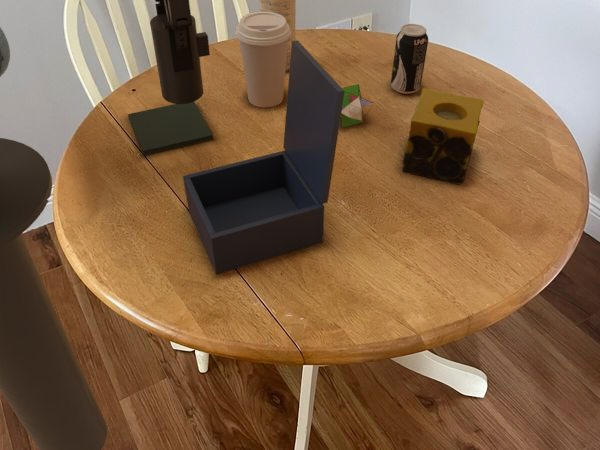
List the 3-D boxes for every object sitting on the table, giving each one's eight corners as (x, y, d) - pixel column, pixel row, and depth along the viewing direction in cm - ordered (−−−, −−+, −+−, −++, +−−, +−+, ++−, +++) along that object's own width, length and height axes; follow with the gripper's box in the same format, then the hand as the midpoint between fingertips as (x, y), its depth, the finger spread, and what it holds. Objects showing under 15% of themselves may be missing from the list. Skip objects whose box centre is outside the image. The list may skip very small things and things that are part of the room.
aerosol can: (302, 64, 119) (303, -38, 106) (279, 76, 116) (278, -27, 102) (277, 53, 123) (275, -47, 109) (254, 65, 119) (249, -37, 105)
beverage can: (392, 79, 115) (400, 20, 107) (421, 83, 114) (431, 24, 106) (387, 93, 111) (395, 33, 103) (418, 98, 110) (428, 38, 102)
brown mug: (167, 107, 83) (155, 34, 76) (158, 87, 87) (145, 15, 80) (217, 97, 85) (211, 25, 78) (206, 78, 89) (199, 7, 82)
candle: (413, 138, 101) (421, 86, 94) (472, 150, 98) (485, 98, 91) (399, 172, 94) (408, 119, 87) (463, 186, 91) (477, 133, 84)
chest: (216, 274, 78) (211, 238, 73) (188, 211, 87) (182, 175, 82) (322, 242, 82) (324, 206, 77) (286, 185, 91) (285, 150, 86)
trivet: (128, 118, 104) (127, 113, 104) (194, 104, 108) (193, 100, 107) (143, 156, 96) (142, 151, 96) (213, 139, 100) (212, 134, 99)
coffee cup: (232, 106, 107) (225, 28, 97) (251, 81, 114) (247, 6, 104) (281, 116, 105) (279, 37, 95) (298, 90, 112) (298, 13, 102)
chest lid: (338, 91, 66) (344, 90, 66) (291, 40, 75) (297, 40, 75) (321, 204, 77) (327, 202, 77) (283, 147, 86) (288, 146, 86)
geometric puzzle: (319, 100, 105) (333, 81, 98) (352, 92, 107) (368, 72, 100) (333, 137, 104) (348, 120, 97) (366, 128, 107) (384, 111, 99)
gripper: (206, -111, 61) (222, 86, 77) (165, -150, 74) (187, 26, 90) (133, -105, 59) (166, 97, 75) (104, -146, 72) (137, 34, 87)
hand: (177, 58), depth 82 cm, fingers closed on brown mug, 6 cm apart
